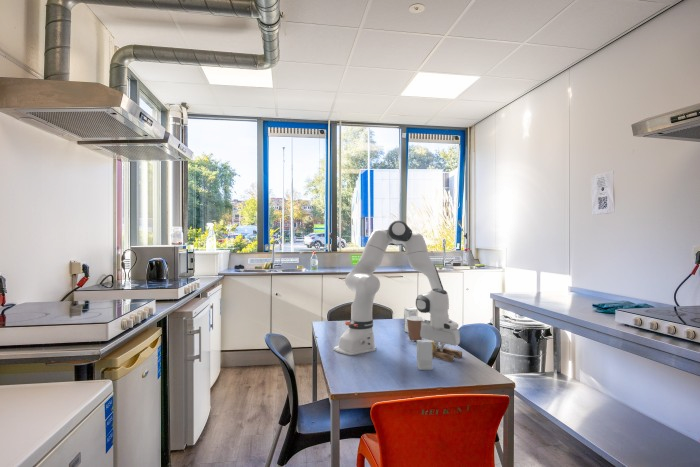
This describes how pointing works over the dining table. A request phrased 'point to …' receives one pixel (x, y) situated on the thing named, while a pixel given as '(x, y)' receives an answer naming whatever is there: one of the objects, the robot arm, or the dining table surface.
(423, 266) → the robot arm
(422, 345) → the skincare box
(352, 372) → the dining table surface
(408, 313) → the syrup box
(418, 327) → the coffee cup
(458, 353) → the chute
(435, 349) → the ochre block
